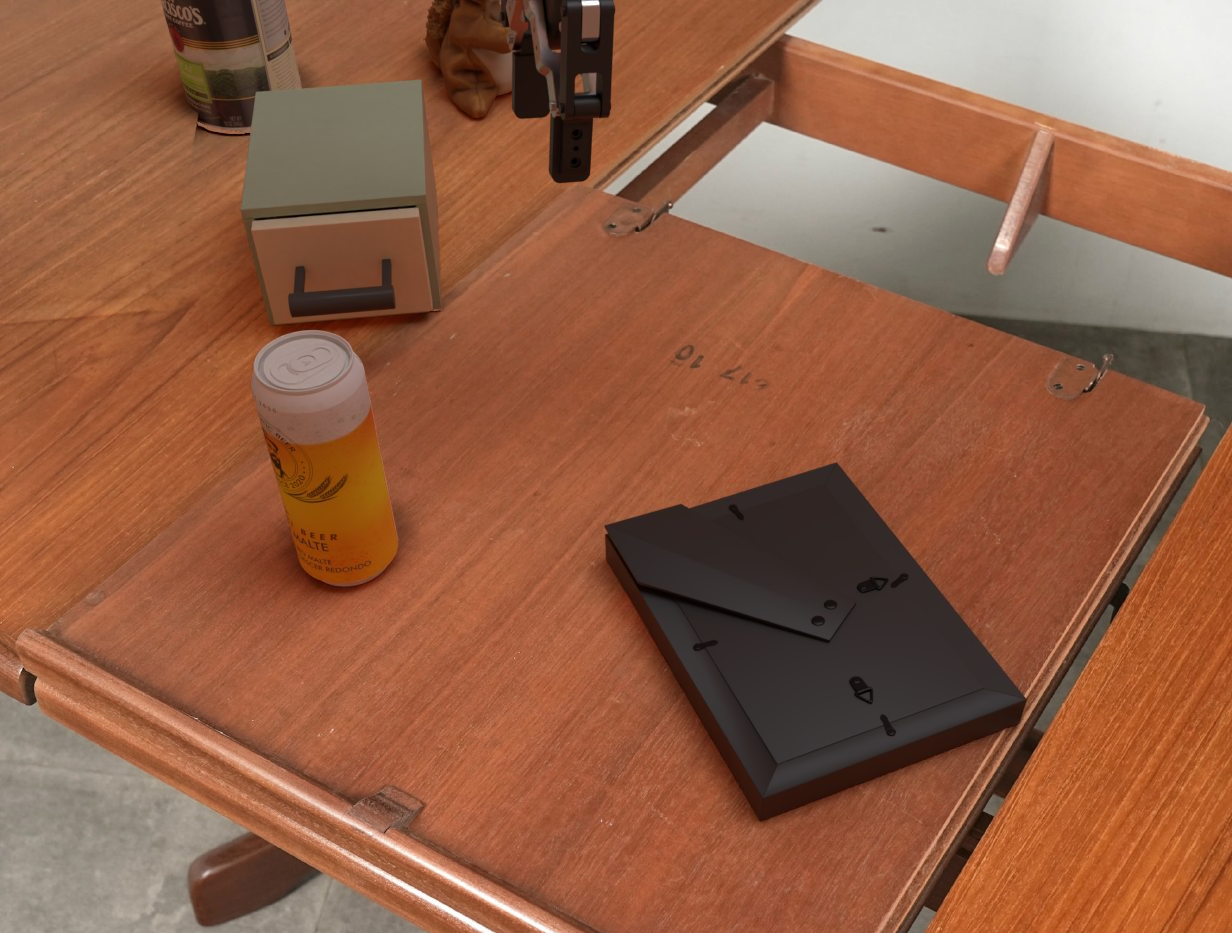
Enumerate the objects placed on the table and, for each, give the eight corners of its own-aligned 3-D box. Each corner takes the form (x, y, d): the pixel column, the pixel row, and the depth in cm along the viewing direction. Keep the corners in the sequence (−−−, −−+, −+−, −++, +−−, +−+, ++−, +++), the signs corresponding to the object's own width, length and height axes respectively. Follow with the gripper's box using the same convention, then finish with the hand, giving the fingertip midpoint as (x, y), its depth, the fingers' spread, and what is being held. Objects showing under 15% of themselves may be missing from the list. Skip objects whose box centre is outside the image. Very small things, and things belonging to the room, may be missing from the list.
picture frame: (605, 558, 84) (760, 821, 71) (604, 525, 81) (763, 790, 68) (833, 486, 87) (1019, 723, 74) (837, 452, 85) (1030, 691, 72)
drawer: (434, 353, 96) (420, 257, 90) (270, 367, 95) (245, 272, 90) (428, 197, 110) (415, 105, 104) (285, 208, 109) (264, 117, 103)
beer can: (282, 553, 84) (224, 357, 73) (365, 508, 87) (322, 311, 76) (334, 608, 81) (283, 411, 70) (419, 560, 84) (382, 362, 73)
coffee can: (228, 149, 117) (186, -18, 107) (168, 106, 123) (122, -57, 112) (329, 107, 122) (298, -57, 111) (267, 67, 127) (232, -93, 117)
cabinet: (442, 311, 101) (425, 194, 94) (269, 326, 100) (240, 209, 93) (436, 191, 112) (421, 78, 105) (281, 204, 111) (255, 91, 104)
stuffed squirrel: (478, 126, 119) (462, -29, 109) (396, 66, 127) (374, -83, 117) (572, 90, 123) (565, -62, 113) (487, 34, 131) (473, -113, 121)
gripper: (454, -204, 72) (459, 101, 83) (521, -126, 62) (515, 208, 73) (591, -204, 74) (578, 94, 85) (677, -128, 64) (649, 198, 75)
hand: (549, 146), depth 79 cm, fingers open, 8 cm apart
